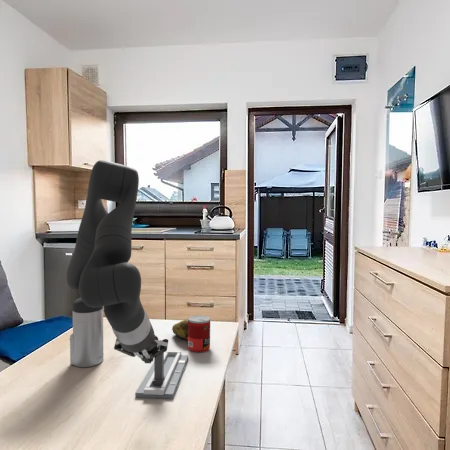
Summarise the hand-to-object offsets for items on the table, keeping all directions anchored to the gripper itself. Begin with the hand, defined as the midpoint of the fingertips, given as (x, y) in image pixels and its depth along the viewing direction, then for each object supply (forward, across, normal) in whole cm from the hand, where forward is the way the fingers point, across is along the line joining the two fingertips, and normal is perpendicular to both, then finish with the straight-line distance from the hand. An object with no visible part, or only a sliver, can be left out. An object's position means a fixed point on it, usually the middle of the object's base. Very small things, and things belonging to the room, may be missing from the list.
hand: (148, 359), depth 88 cm
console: (+20, 0, -3) cm, 21 cm away
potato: (+42, 0, -25) cm, 49 cm away
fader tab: (+15, 0, +1) cm, 15 cm away
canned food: (+36, -7, -18) cm, 41 cm away
